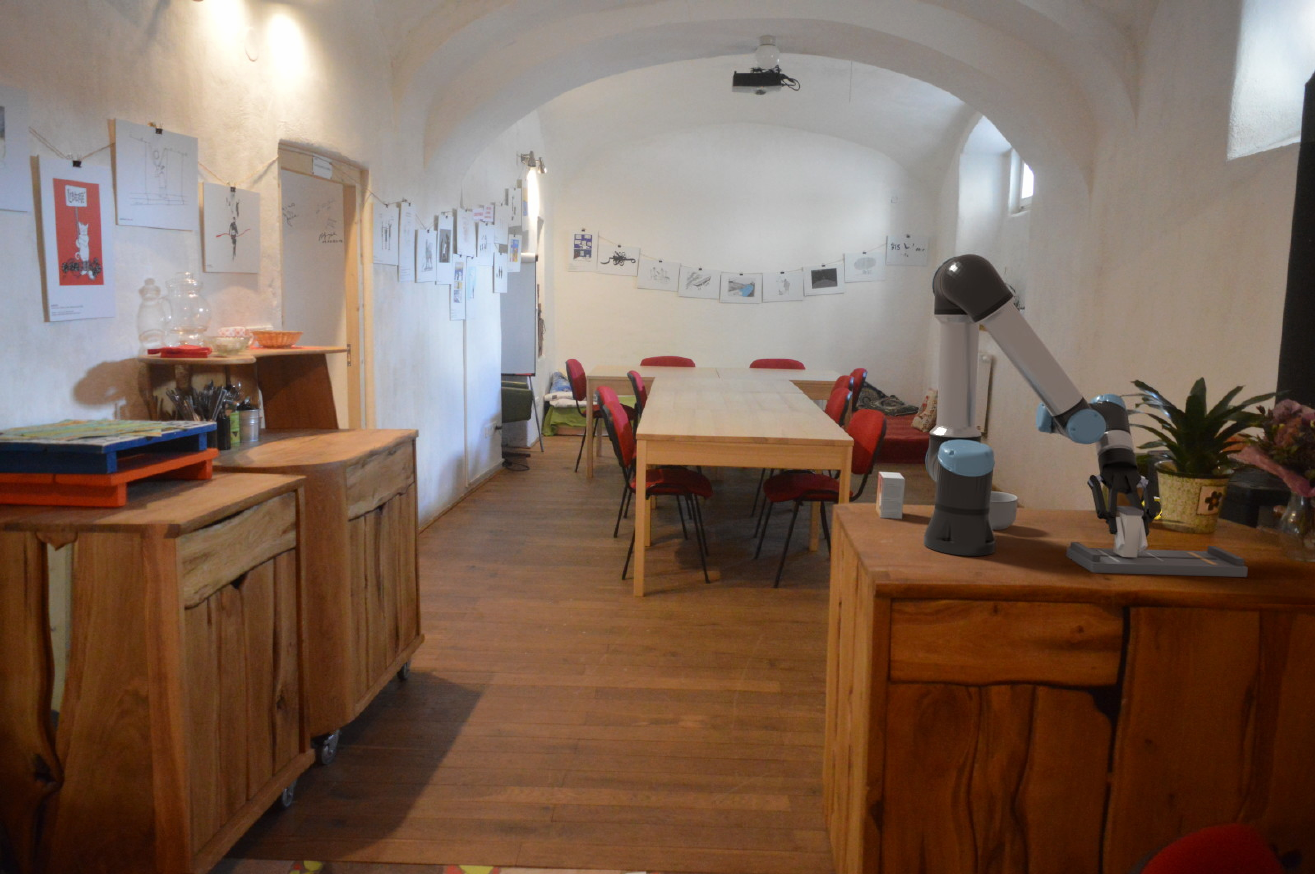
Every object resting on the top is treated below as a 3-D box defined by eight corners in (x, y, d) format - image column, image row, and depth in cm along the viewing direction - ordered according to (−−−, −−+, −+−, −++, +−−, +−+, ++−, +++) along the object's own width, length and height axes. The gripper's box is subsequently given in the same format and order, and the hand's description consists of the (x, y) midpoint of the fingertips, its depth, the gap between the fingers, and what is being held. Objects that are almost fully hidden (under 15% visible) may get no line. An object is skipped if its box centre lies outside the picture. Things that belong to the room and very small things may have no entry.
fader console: (1092, 572, 188) (1094, 556, 187) (1066, 556, 200) (1067, 540, 199) (1246, 576, 188) (1248, 560, 188) (1211, 560, 200) (1213, 544, 200)
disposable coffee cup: (1138, 519, 238) (1143, 474, 236) (1145, 527, 229) (1150, 480, 227) (1098, 515, 241) (1103, 471, 239) (1103, 523, 232) (1108, 477, 230)
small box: (875, 510, 238) (878, 471, 237) (897, 512, 238) (900, 472, 236) (879, 518, 230) (882, 477, 229) (902, 519, 230) (905, 478, 228)
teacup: (1021, 533, 219) (1024, 500, 218) (976, 531, 220) (979, 499, 218) (1001, 519, 233) (1004, 488, 232) (958, 517, 233) (961, 487, 232)
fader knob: (1122, 557, 191) (1127, 510, 190) (1111, 551, 196) (1116, 505, 194) (1138, 557, 191) (1143, 511, 190) (1127, 551, 196) (1132, 506, 194)
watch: (1159, 519, 240) (1163, 497, 239) (1164, 521, 237) (1169, 499, 236) (1136, 516, 240) (1140, 494, 239) (1142, 519, 237) (1146, 497, 236)
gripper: (1150, 467, 205) (1169, 560, 191) (1071, 462, 207) (1084, 553, 194) (1162, 448, 199) (1182, 542, 185) (1080, 443, 201) (1094, 535, 188)
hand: (1132, 547), depth 189 cm, fingers closed on fader knob, 4 cm apart
